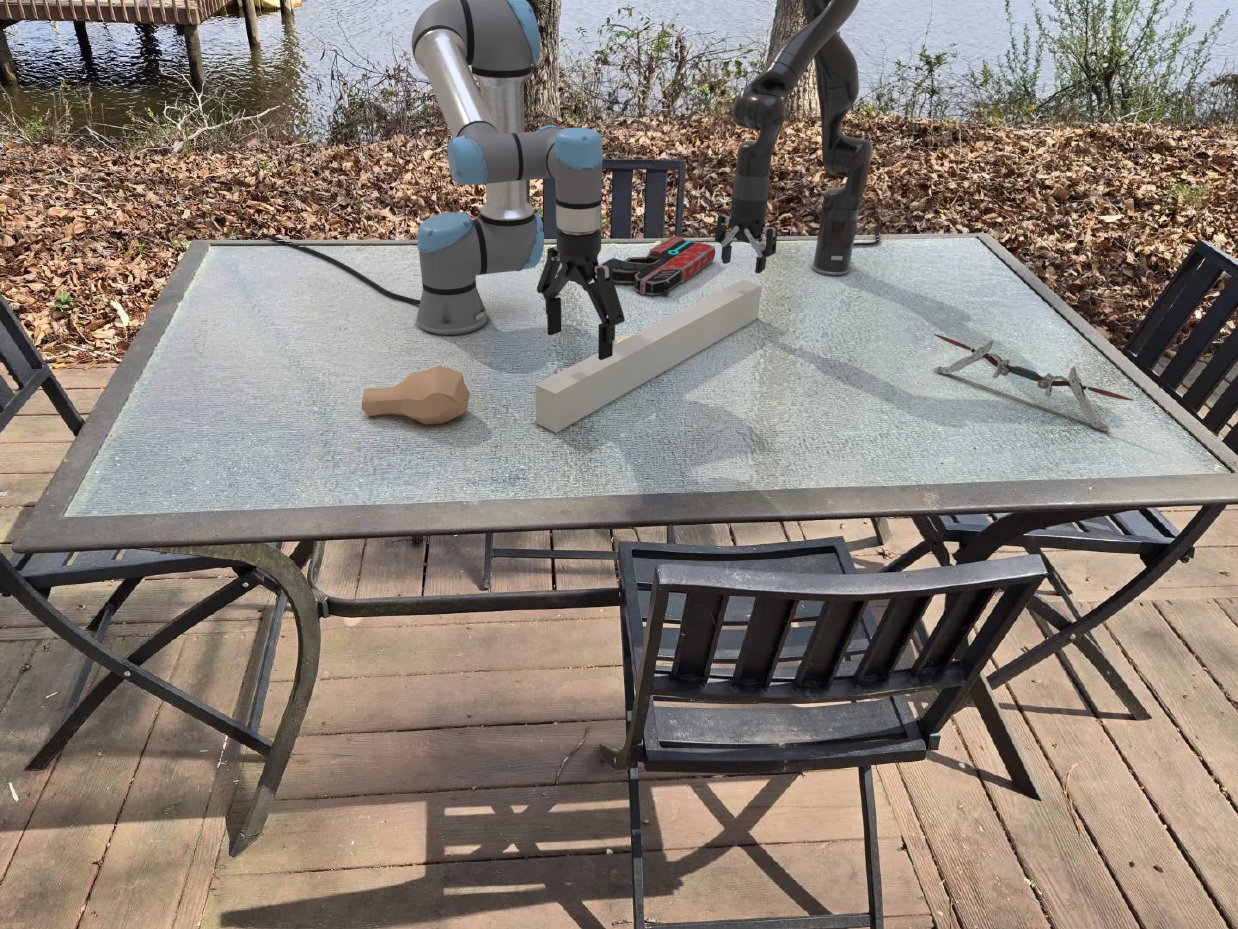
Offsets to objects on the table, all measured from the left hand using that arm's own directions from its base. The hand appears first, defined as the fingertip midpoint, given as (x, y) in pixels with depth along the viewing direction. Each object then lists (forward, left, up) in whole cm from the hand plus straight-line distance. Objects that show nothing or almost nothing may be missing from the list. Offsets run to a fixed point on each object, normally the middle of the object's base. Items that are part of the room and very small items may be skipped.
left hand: (579, 344), depth 157 cm
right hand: (-6, +54, -1) cm, 54 cm away
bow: (+54, +68, -14) cm, 88 cm away
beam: (-3, +25, -14) cm, 29 cm away
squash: (-19, -23, -14) cm, 33 cm away
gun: (-39, +63, -14) cm, 75 cm away
